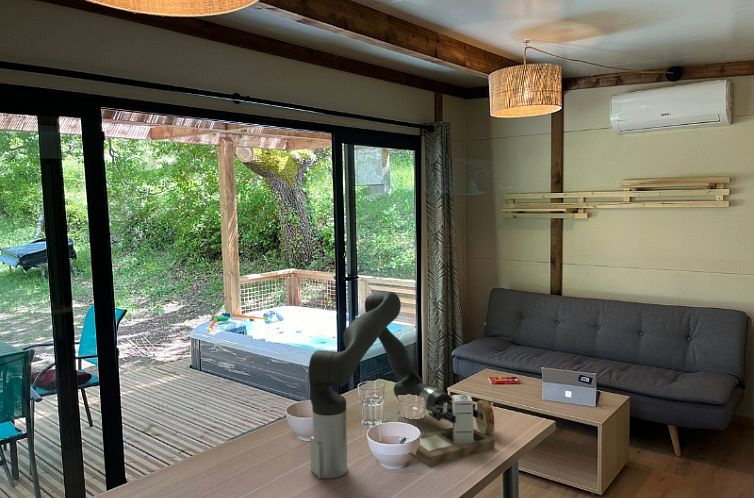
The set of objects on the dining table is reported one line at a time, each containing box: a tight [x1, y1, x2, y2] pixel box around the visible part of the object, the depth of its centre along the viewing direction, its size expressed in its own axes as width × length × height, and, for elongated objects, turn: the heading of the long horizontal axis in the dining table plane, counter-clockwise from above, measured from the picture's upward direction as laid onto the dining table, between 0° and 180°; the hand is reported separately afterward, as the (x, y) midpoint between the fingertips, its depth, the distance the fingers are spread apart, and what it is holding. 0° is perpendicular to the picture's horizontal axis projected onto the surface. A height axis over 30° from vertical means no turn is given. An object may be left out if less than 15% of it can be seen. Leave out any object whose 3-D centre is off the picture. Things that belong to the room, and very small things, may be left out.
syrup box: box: [451, 394, 474, 446], centre depth 171 cm, size 6×6×14 cm
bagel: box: [474, 399, 495, 435], centre depth 181 cm, size 10×4×10 cm, turn 9°
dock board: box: [414, 427, 496, 467], centre depth 169 cm, size 24×14×3 cm, turn 119°
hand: (466, 417), depth 170 cm, fingers open, 8 cm apart
